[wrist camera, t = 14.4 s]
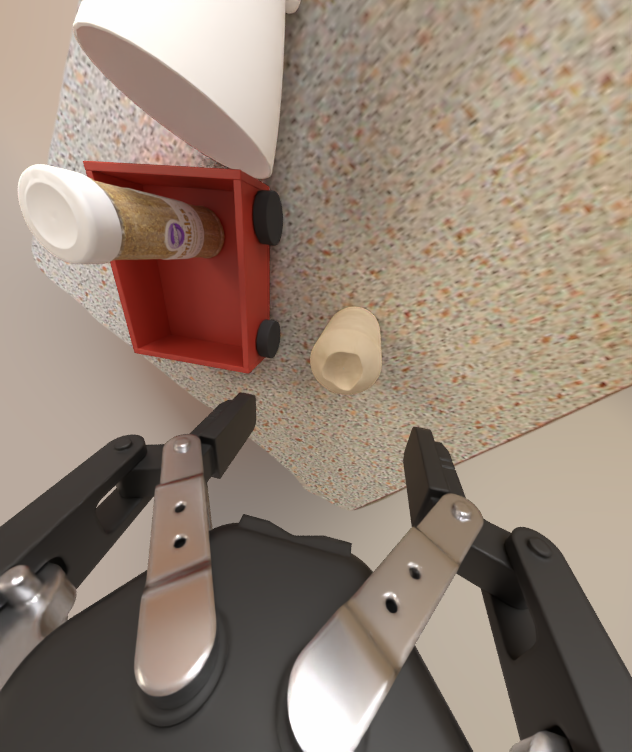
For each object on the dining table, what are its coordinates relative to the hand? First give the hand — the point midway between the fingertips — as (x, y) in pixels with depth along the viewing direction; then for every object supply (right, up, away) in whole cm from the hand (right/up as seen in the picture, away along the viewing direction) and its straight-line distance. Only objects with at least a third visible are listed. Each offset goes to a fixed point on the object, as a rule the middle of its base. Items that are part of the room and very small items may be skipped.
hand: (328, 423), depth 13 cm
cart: (-12, +13, +15) cm, 23 cm away
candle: (+3, +7, +14) cm, 16 cm away
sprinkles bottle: (-11, +17, +12) cm, 24 cm away
